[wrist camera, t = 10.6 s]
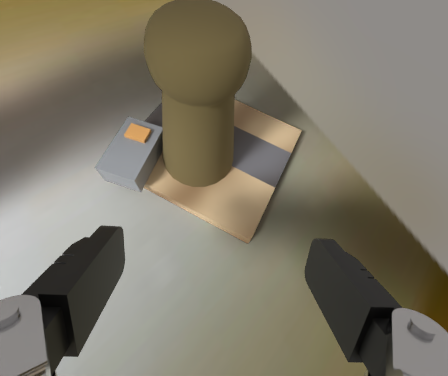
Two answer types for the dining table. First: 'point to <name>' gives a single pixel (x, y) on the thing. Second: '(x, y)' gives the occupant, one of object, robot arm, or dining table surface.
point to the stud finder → (132, 154)
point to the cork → (197, 85)
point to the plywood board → (234, 174)
